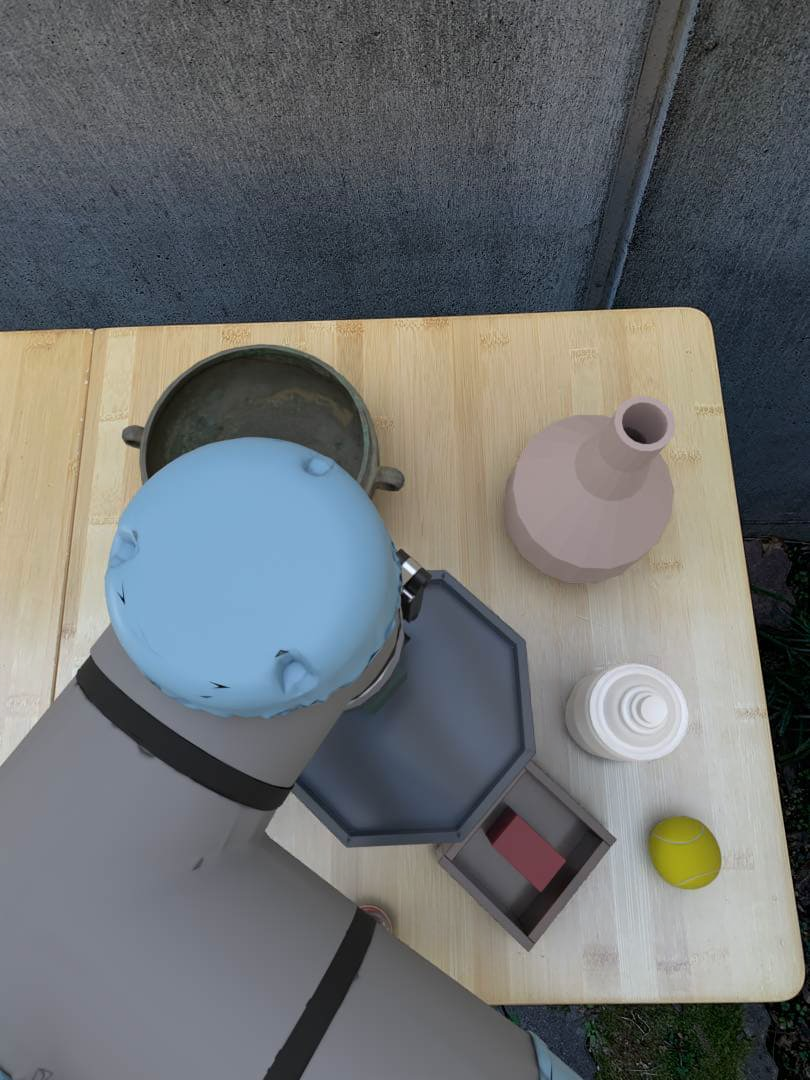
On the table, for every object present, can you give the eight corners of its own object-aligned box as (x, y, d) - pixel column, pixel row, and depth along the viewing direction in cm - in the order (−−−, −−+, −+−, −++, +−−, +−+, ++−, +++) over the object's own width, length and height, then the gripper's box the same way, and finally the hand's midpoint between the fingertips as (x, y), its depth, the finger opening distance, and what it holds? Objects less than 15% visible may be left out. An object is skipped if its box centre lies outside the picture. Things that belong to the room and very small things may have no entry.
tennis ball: (631, 822, 76) (652, 833, 69) (689, 804, 76) (716, 812, 69) (654, 888, 74) (678, 906, 67) (714, 869, 74) (744, 885, 68)
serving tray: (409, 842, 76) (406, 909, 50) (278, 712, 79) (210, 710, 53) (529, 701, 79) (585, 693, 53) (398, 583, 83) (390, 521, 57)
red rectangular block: (529, 876, 74) (541, 893, 67) (484, 834, 75) (491, 845, 68) (552, 847, 75) (566, 860, 68) (508, 805, 76) (517, 814, 69)
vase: (633, 459, 87) (742, 329, 58) (641, 595, 82) (764, 529, 53) (495, 455, 87) (535, 325, 58) (496, 591, 83) (539, 524, 54)
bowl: (423, 417, 89) (424, 358, 74) (386, 613, 82) (380, 591, 68) (184, 379, 90) (140, 315, 76) (130, 568, 84) (71, 537, 70)
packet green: (374, 714, 55) (368, 714, 48) (317, 660, 56) (304, 652, 49) (407, 677, 56) (406, 671, 49) (351, 624, 57) (342, 612, 50)
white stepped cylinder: (571, 783, 77) (642, 813, 53) (527, 696, 79) (576, 686, 55) (660, 738, 78) (770, 747, 54) (614, 653, 81) (699, 625, 56)
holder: (518, 931, 73) (528, 952, 67) (435, 849, 75) (437, 862, 69) (599, 828, 76) (617, 839, 69) (516, 752, 78) (526, 755, 71)
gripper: (387, 454, 34) (398, 560, 56) (132, 714, 31) (252, 716, 53) (502, 552, 32) (466, 620, 55) (248, 835, 29) (320, 784, 52)
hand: (361, 667), depth 54 cm, fingers closed on packet green, 4 cm apart
